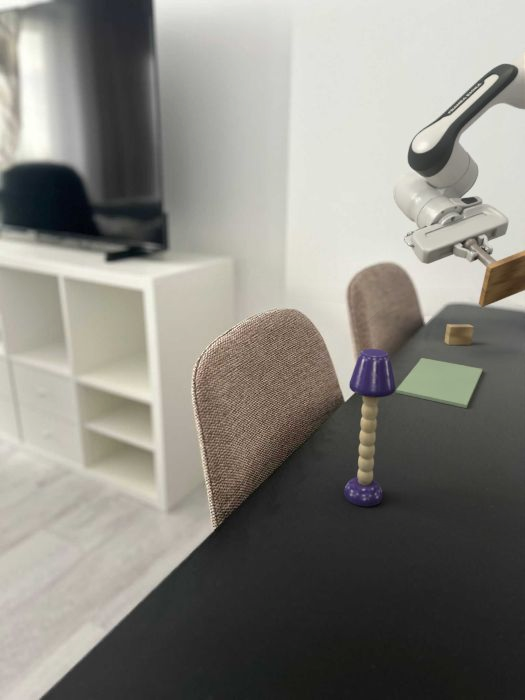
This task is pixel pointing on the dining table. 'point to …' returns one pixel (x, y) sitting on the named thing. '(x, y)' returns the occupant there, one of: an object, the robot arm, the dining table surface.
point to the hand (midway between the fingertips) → (482, 255)
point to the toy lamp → (369, 421)
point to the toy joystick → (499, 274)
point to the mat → (441, 382)
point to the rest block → (458, 334)
